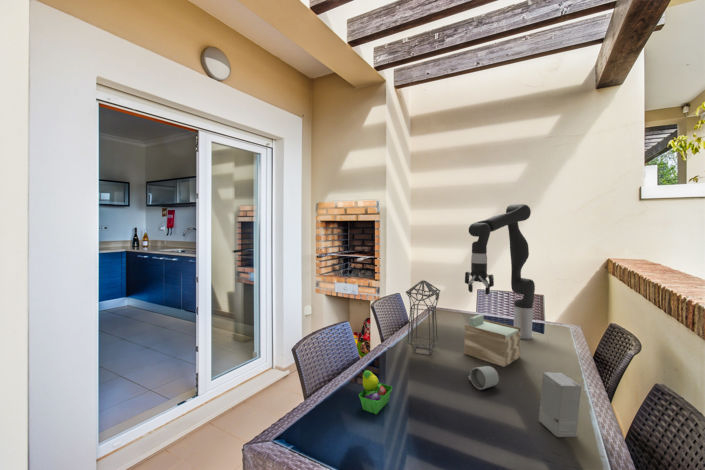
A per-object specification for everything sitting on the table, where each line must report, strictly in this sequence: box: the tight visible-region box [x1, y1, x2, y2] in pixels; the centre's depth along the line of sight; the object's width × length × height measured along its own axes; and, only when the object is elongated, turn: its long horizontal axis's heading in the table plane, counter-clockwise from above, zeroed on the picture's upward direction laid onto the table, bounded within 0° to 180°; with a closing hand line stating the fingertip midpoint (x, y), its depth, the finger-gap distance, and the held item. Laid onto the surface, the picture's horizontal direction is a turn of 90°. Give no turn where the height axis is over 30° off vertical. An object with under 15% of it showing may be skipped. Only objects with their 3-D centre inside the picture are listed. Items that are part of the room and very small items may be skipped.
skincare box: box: [538, 371, 582, 438], centre depth 95 cm, size 8×7×16 cm
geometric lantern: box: [405, 279, 441, 356], centre depth 155 cm, size 16×16×35 cm
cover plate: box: [469, 314, 519, 339], centre depth 150 cm, size 15×18×5 cm
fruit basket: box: [358, 369, 393, 415], centre depth 107 cm, size 11×9×11 cm
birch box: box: [463, 318, 521, 368], centre depth 151 cm, size 17×19×14 cm
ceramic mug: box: [468, 365, 500, 390], centre depth 122 cm, size 11×8×8 cm
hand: (478, 293), depth 161 cm, fingers open, 8 cm apart
